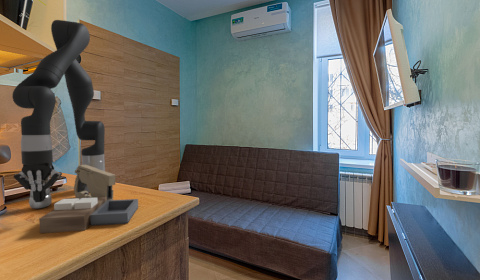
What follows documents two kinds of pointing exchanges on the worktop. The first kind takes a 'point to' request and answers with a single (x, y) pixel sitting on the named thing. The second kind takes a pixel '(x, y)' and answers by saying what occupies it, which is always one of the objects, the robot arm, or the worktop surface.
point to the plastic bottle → (43, 203)
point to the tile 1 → (65, 204)
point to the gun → (93, 182)
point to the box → (114, 212)
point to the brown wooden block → (68, 219)
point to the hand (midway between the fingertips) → (39, 201)
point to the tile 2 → (85, 203)
